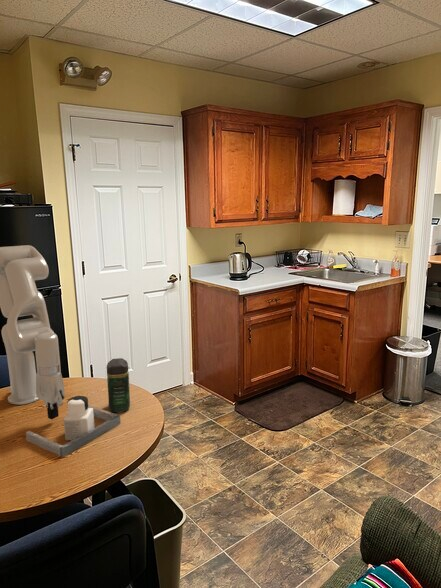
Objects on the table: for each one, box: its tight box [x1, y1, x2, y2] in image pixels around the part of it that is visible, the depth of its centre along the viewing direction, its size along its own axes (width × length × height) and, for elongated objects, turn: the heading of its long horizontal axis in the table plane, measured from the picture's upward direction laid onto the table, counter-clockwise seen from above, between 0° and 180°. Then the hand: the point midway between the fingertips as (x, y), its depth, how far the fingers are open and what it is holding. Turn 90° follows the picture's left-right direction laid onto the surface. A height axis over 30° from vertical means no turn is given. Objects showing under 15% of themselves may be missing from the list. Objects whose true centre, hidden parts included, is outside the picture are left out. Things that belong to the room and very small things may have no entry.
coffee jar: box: [106, 357, 131, 413], centre depth 167 cm, size 10×8×19 cm
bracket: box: [25, 404, 122, 458], centre depth 151 cm, size 18×24×3 cm
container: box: [63, 395, 96, 441], centre depth 148 cm, size 8×8×13 cm
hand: (53, 417), depth 157 cm, fingers closed
